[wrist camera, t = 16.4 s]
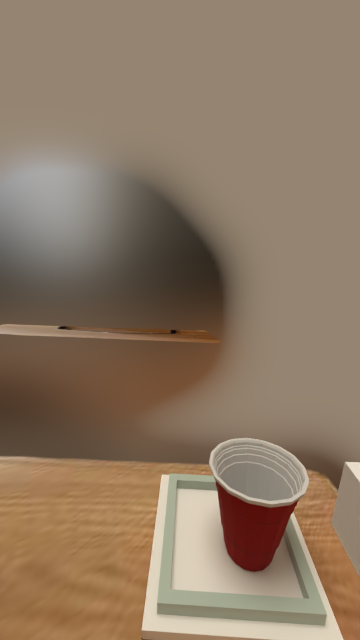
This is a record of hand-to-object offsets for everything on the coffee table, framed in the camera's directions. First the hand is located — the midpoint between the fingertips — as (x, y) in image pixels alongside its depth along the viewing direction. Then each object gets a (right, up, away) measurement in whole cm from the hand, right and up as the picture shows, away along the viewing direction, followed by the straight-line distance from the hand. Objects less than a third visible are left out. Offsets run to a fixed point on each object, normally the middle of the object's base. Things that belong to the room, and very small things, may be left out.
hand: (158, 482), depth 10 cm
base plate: (+7, -23, +26) cm, 35 cm away
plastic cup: (+9, -22, +24) cm, 34 cm away
